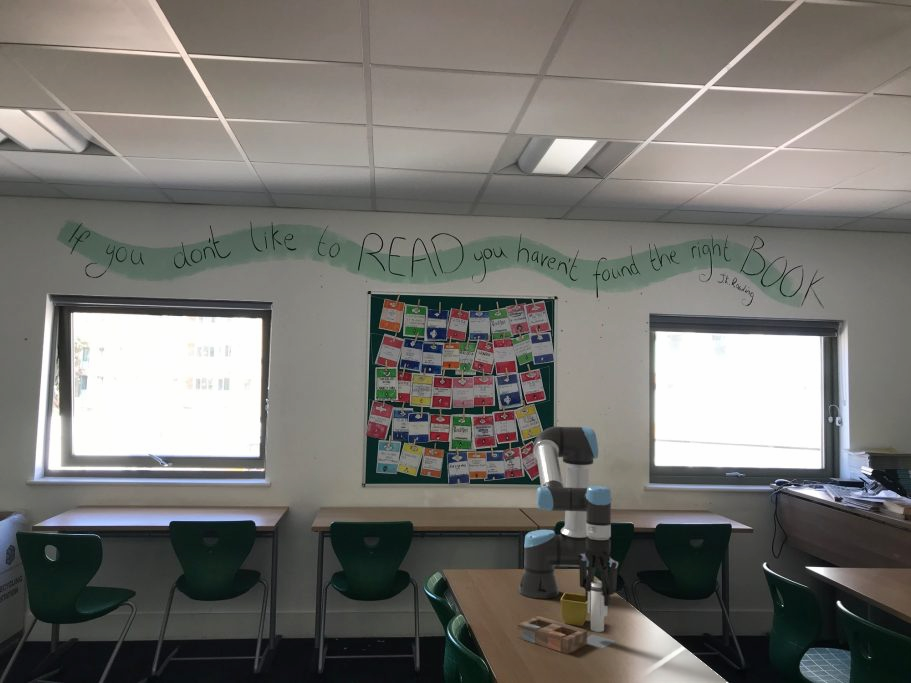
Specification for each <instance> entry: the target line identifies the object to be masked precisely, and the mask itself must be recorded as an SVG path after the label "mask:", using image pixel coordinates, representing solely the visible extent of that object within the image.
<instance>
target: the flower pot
mask: <svg viewBox="0 0 911 683" xmlns="http://www.w3.org/2000/svg"><path fill="white" fill-rule="evenodd" d="M585 597H586V594H580V593H571V592H564V593H563V595H562V596H561V598H560V608H561V609H560V611H561V617H562V620H563V623H564V624H567V625H570V626H577V627H578V626H579V627H583V626H584V624H585V622H586V619H587V616H588V614H589V613H588V601H586V599H585Z"/></svg>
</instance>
